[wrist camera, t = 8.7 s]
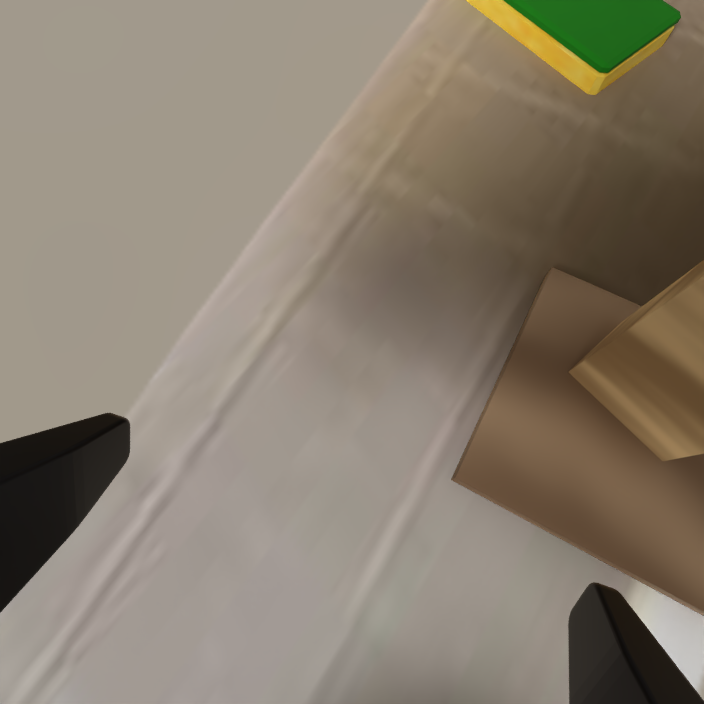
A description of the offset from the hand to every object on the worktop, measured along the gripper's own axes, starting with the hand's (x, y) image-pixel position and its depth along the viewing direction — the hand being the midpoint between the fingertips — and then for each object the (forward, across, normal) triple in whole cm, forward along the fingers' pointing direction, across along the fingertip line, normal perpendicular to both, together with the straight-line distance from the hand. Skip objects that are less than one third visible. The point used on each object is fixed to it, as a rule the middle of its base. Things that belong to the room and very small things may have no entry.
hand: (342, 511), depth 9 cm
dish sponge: (+35, -2, -14) cm, 38 cm away
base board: (+15, -11, +4) cm, 19 cm away
